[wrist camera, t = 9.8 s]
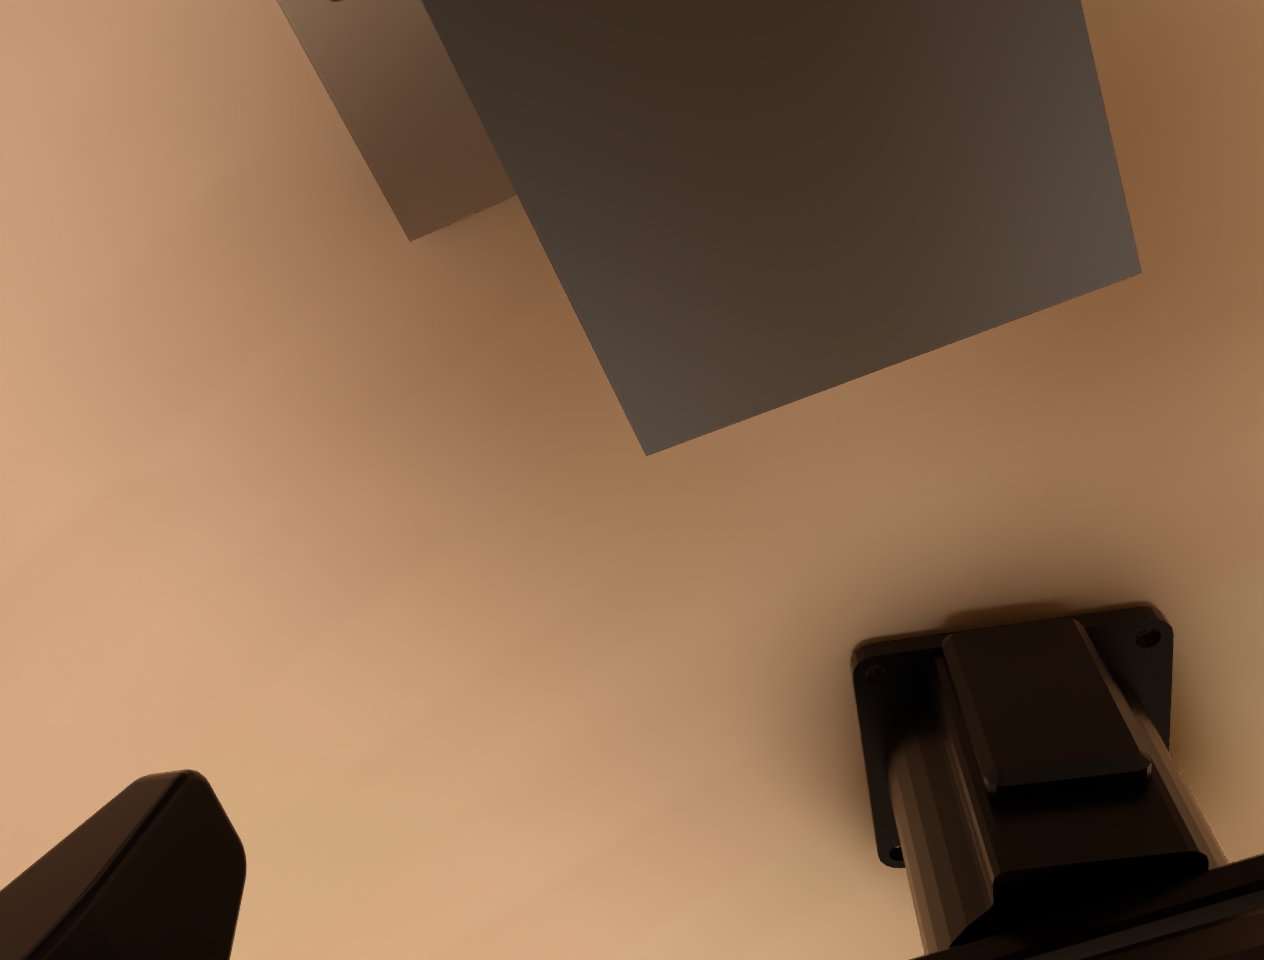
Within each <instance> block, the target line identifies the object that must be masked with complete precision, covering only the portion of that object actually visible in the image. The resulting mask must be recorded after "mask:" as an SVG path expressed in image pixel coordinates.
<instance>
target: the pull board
mask: <svg viewBox="0 0 1264 960" xmlns="http://www.w3.org/2000/svg"><path fill="white" fill-rule="evenodd" d="M277 2H278V4H279V5H280V7H281V9H282V11H283V13H284V15H285V16H286V18H287V20H288V22H289V24H290V25H291V27H292V29H293V31H294V33H295V34H296V36H297V38H298V40H299V42H300V43H301V45H302V47H303V49H304V51H305V53H306V54H307V56H308V58H309V60H310V62H311V63H312V65H313V67H314V69H315V71H316V72H317V74H318V76H319V78H320V80H321V81H322V83H323V85H324V87H325V89H326V91H327V92H328V94H329V96H330V98H331V100H332V101H333V103H334V105H335V107H336V109H337V110H338V112H339V114H340V116H341V118H342V119H343V121H344V123H345V125H346V127H347V129H348V130H349V132H350V134H351V136H352V138H353V139H354V141H355V143H356V145H357V147H358V148H359V150H360V152H361V154H362V156H363V157H364V159H365V161H366V163H367V165H368V167H369V168H370V170H371V172H372V174H373V176H374V177H375V179H376V181H377V183H378V185H379V186H380V188H381V190H382V192H383V194H384V195H385V197H386V199H387V201H388V203H389V205H390V206H391V208H392V210H393V212H394V214H395V215H396V217H397V219H398V221H399V223H400V224H401V226H402V228H403V230H404V232H405V234H406V235H407V237H408V239H409V241H410V242H411V241H413V240H415V239H418V238H420V237H422V236H424V235H427V234H429V233H431V232H433V231H436V230H438V229H440V228H442V227H445V226H447V225H449V224H451V223H454V222H456V221H458V220H460V219H463V218H465V217H467V216H469V215H472V214H474V213H476V212H478V211H481V210H483V209H485V208H487V207H490V206H492V205H494V204H496V203H499V202H501V201H503V200H505V199H508V198H510V197H512V196H514V195H518V197H519V199H520V201H521V203H522V205H523V207H524V209H525V211H526V213H527V215H528V217H529V220H530V222H531V224H532V226H533V228H534V230H535V232H536V234H537V236H538V238H539V240H540V242H541V244H542V246H543V248H544V250H545V252H546V254H547V256H548V258H549V260H550V262H551V264H552V266H553V268H554V270H555V272H556V274H557V276H558V278H559V280H560V282H561V284H562V286H563V288H564V290H565V292H566V294H567V296H568V298H569V301H570V303H571V305H572V307H573V309H574V311H575V313H576V315H577V317H578V319H579V321H580V323H581V325H582V327H583V329H584V331H585V333H586V335H587V337H588V339H589V341H590V343H591V345H592V347H593V349H594V351H595V353H596V355H597V357H598V359H599V361H600V363H601V365H602V367H603V369H604V371H605V373H606V375H607V377H608V379H609V382H610V384H611V386H612V388H613V390H614V392H615V394H616V396H617V398H618V400H619V402H620V404H621V406H622V408H623V410H624V412H625V414H626V416H627V418H628V420H629V422H630V424H631V426H632V428H633V430H634V432H635V434H636V436H637V438H638V440H639V442H640V444H641V446H642V448H643V450H644V452H645V454H646V456H648V455H651V454H653V453H656V452H659V451H662V450H664V449H667V448H670V447H672V446H675V445H678V444H680V443H683V442H686V441H689V440H691V439H694V438H697V437H699V436H702V435H705V434H707V433H710V432H713V431H716V430H718V429H721V428H724V427H726V426H729V425H732V424H735V423H737V422H740V421H743V420H745V419H748V418H751V417H753V416H756V415H759V414H762V413H764V412H767V411H770V410H772V409H775V408H778V407H781V406H783V405H786V404H789V403H791V402H794V401H797V400H799V399H802V398H805V397H808V396H810V395H813V394H816V393H818V392H821V391H824V390H827V389H829V388H832V387H835V386H837V385H840V384H843V383H845V382H848V381H851V380H854V379H856V378H859V377H862V376H864V375H867V374H870V373H873V372H875V371H878V370H881V369H883V368H886V367H889V366H891V365H894V364H897V363H900V362H902V361H905V360H908V359H910V358H913V357H916V356H918V355H921V354H924V353H927V352H929V351H932V350H935V349H937V348H940V347H943V346H946V345H948V344H951V343H954V342H956V341H959V340H962V339H964V338H967V337H970V336H973V335H975V334H978V333H981V332H983V331H986V330H989V329H992V328H994V327H997V326H1000V325H1002V324H1005V323H1008V322H1010V321H1013V320H1016V319H1019V318H1021V317H1024V316H1027V315H1029V314H1032V313H1035V312H1038V311H1040V310H1043V309H1046V308H1048V307H1051V306H1054V305H1056V304H1059V303H1062V302H1065V301H1067V300H1070V299H1073V298H1075V297H1078V296H1081V295H1084V294H1086V293H1089V292H1092V291H1094V290H1097V289H1100V288H1102V287H1105V286H1108V285H1111V284H1113V283H1116V282H1119V281H1121V280H1124V279H1127V278H1129V277H1132V276H1135V275H1138V274H1140V273H1142V271H1141V267H1140V262H1139V258H1138V253H1137V249H1136V245H1135V240H1134V236H1133V231H1132V227H1131V222H1130V218H1129V214H1128V209H1127V205H1126V200H1125V196H1124V192H1123V187H1122V183H1121V178H1120V174H1119V169H1118V165H1117V161H1116V156H1115V152H1114V147H1113V143H1112V138H1111V134H1110V130H1109V125H1108V121H1107V116H1106V112H1105V107H1104V103H1103V99H1102V94H1101V90H1100V85H1099V81H1098V77H1097V72H1096V68H1095V63H1094V59H1093V54H1092V50H1091V46H1090V41H1089V37H1088V32H1087V28H1086V23H1085V19H1084V15H1083V10H1082V6H1081V1H1080V0H343V1H338V2H333V1H329V0H277Z"/></svg>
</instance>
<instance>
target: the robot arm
mask: <svg viewBox="0 0 1264 960" xmlns="http://www.w3.org/2000/svg"><path fill="white" fill-rule="evenodd" d="M1147 628H1152V630H1151V631H1150V632H1148V633H1147V634H1144V635H1141V636H1137V634H1138V633H1139V632H1140V631H1141V630H1144V629H1147ZM1173 636H1174V634H1173V630H1172V627H1171V625H1170V624H1169V622H1168V620H1167V619H1166V617H1165V616H1164V615H1163V614H1162V612H1161V611H1160V610H1158V609H1155V608H1153V607H1136V608H1129V609H1121V610H1114V611H1107V612H1099V613H1092V614H1085V615H1078V616H1070V617H1063V618H1056V619H1049V620H1041V621H1034V622H1027V623H1020V624H1012V625H1005V626H998V627H991V628H983V629H976V630H969V631H962V632H954V633H947V634H940V635H933V636H925V637H918V638H911V639H904V640H896V641H889V642H882V643H875V644H869V645H866V646H863V647H861V648H860V649H858V650H857V651H855V653H854V654H853V656H852V657H851V662H850V668H851V674H852V681H853V688H854V695H855V702H856V709H857V716H858V723H859V730H860V737H861V744H862V751H863V758H864V765H865V771H866V778H867V785H868V792H869V799H870V806H871V813H872V820H873V827H874V834H875V841H876V846H877V852H878V856H879V858H880V861H881V862H882V863H884V864H885V865H886V866H890V867H893V868H906V871H907V876H908V880H909V885H910V890H911V894H912V899H913V903H914V908H915V912H916V917H917V922H918V926H919V931H920V935H921V940H922V944H923V949H924V954H925V955H923V956H920V957H916V958H913V959H910V960H1264V853H1263V854H1260V855H1256V856H1253V857H1250V858H1246V859H1243V860H1240V861H1236V862H1233V863H1230V864H1229V863H1228V861H1227V859H1226V857H1225V855H1224V854H1223V852H1222V850H1221V848H1220V846H1219V844H1218V842H1217V841H1216V839H1215V837H1214V835H1213V833H1212V831H1211V829H1210V828H1209V826H1208V824H1207V822H1206V820H1205V818H1204V816H1203V815H1202V813H1201V811H1200V809H1199V807H1198V805H1197V804H1196V802H1195V800H1194V798H1193V796H1192V794H1191V792H1190V791H1189V789H1188V787H1187V785H1186V783H1185V781H1184V779H1183V778H1182V776H1181V774H1180V772H1179V770H1178V768H1177V766H1176V765H1175V763H1174V761H1173V759H1172V757H1171V755H1170V753H1169V737H1170V712H1171V687H1172V661H1173ZM873 665H882V666H884V667H883V668H882V669H880V670H878V671H868V670H867V669H868V668H869V667H870V666H873ZM897 846H901V847H898V848H895V847H897ZM245 879H246V856H245V851H244V847H243V844H242V842H241V840H240V838H239V836H238V834H237V832H236V831H235V829H234V827H233V825H232V823H231V821H230V820H229V818H228V816H227V814H226V812H225V811H224V809H223V807H222V805H221V803H220V802H219V800H218V798H217V796H216V794H215V792H214V791H213V789H212V787H211V785H210V783H209V782H208V780H207V779H206V778H205V777H204V776H203V775H202V774H200V773H199V772H197V771H194V770H179V771H171V772H164V773H157V774H150V775H147V776H143V777H141V778H139V779H137V780H136V781H134V782H133V783H132V784H130V785H129V786H128V787H127V788H126V789H124V790H123V791H122V792H121V793H119V794H118V795H117V796H116V797H115V798H113V799H112V800H111V801H110V802H108V803H107V804H106V805H105V806H104V807H102V808H101V809H100V810H99V811H97V812H96V813H95V814H94V815H93V816H91V817H90V818H89V819H88V820H86V821H85V822H84V823H83V824H82V825H80V826H79V827H78V828H77V829H75V830H74V831H73V832H72V833H71V834H69V835H68V836H67V837H66V838H64V839H63V840H62V841H61V842H60V843H58V844H57V845H56V846H55V847H53V848H52V849H51V850H50V851H49V852H47V853H46V854H45V855H44V856H42V857H41V858H40V859H39V860H38V861H36V862H35V863H34V864H33V865H31V866H30V867H29V868H28V869H27V870H25V871H24V872H23V873H22V874H20V875H19V876H18V877H17V878H16V879H14V880H13V881H12V882H11V883H9V884H8V885H7V886H6V887H5V888H3V889H2V890H1V891H0V960H230V956H231V951H232V946H233V941H234V935H235V930H236V925H237V920H238V915H239V910H240V905H241V900H242V895H243V890H244V885H245Z"/></svg>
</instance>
